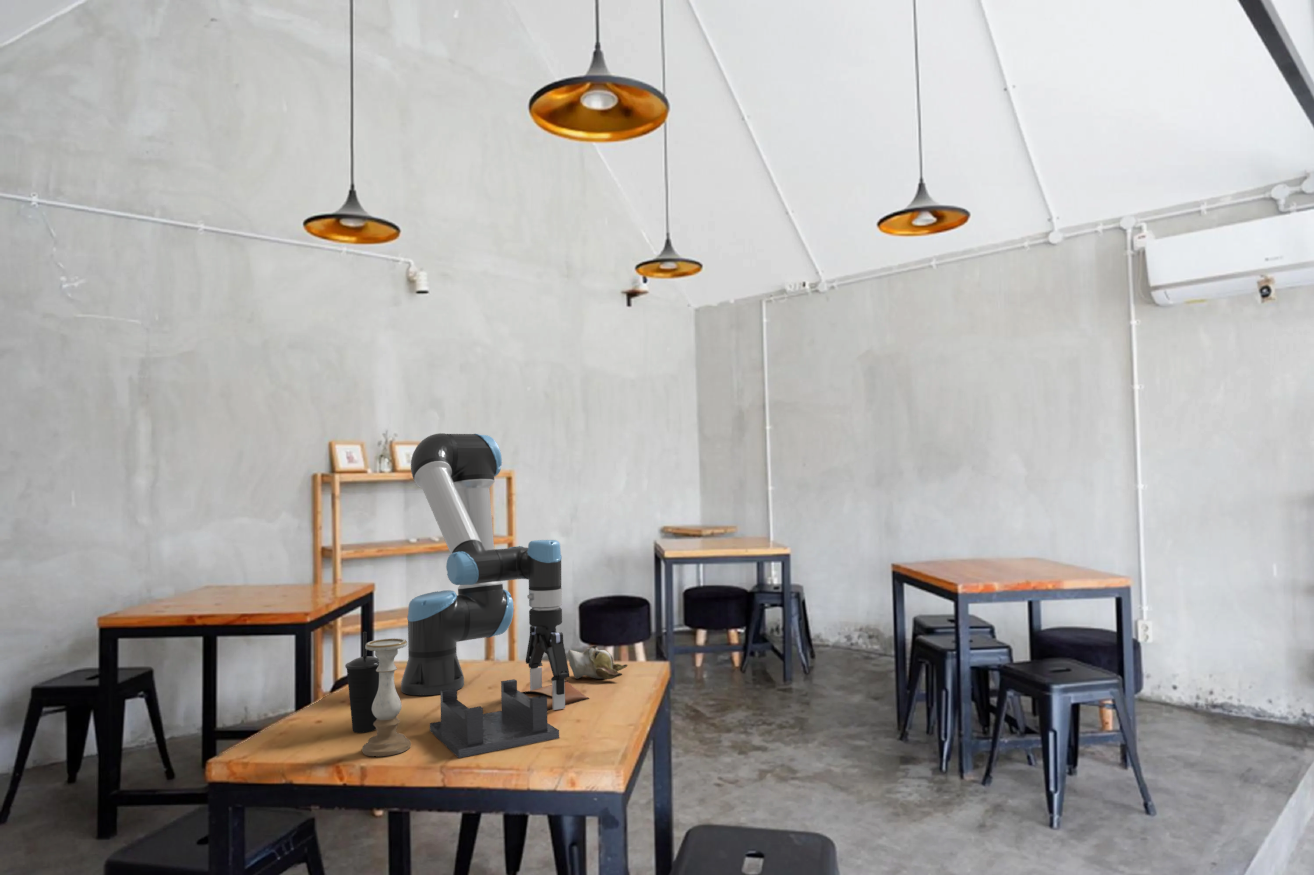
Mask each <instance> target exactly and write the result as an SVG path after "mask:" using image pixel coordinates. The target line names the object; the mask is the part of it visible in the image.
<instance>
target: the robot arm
mask: <svg viewBox="0 0 1314 875" xmlns="http://www.w3.org/2000/svg"><path fill="white" fill-rule="evenodd" d="M411 455H412V456H411V460H410V473H411V476H412V479H413V481H414V483H415V485H416V486H417V488H420V489H422V492H423V494H424V496H425V499H426V501H427V503H428V505H429V507H430V509H431V511H432V514H433V517H434V519H435V521H436V522H437V525H438V528H439V531H440V532H441V535H442V537H443V539H444V541H445V543H446V546H447V548H448V550H449V553H450V555H448V557H447V559H446V560H447V561H446V566H445V568H446V573H447V574H446V575H447V576H446V577H447V578H448V580H449V582H451V584H453V585H455V586H458V587H457V593H456V591H454V590H450V589H448V590H440V591H438V590H437V591H431V592H427V593H424V594H420V595H418V596H416V597H414V598H412V599H411V600H410V601H409V604H408V610H407V611H408V612H407V617H406V618H407V636H408V637H407V640H408V641H407V648H408V649H407V650H408V651H407V652H408V656H407V657H408V659H407V662H406V665H405V668H404V672H403V676H402V678H401V682H400V692H402V693H403V694H405V695H410V696H434V695H441V690H448V689H454V688H455V689H457V691H458V690H460V689H462V688H463V687H464V686H465V676H464V672H463V669H462V667H461V664H460V661H459V658H458V654H457V643H458V642H465V641H471V640H477V639H478V640H479V639H483V638H484V639H485V638H492V637H495V636H500V635H502V634H504V633H506V632H507V631H508V629H509V627H510V625H511V624H512V621H513V617H514V606H515V605H514V600H513V597H512V595H511V593H510V592H509V591H508V590H507V589H505V588H504V583H503V581H513V580H514V581H515V580H528V594H527V599H528V600H529V601H528V602H529V603H528V606H529V607H530V609H529V611H528V615H529V616H528V622H529V623H528V624H529V625H530V626H529V636H528V637H529V638H528V644H527V650H526V656H525V664H527V665H528V668H529V691H531V690H535V689H538V688H542V687H543V669H542V667H543V663H542V659H543V657H544V654H546V655H547V656H546V657H547V658H548V659H547V660H548V663H549V666H550V669H551V672H552V675H553V676H552V677H551V678H550V681H551V685H552V706H553V709H552V710H553V711H555V710H561V709H566V705H565V679H567V678H570V671H569V666H568V665H569V663H568V660H567V655H566V649H565V644H564V633H563V632H557V626H560V625H562V623H563V608H561V606H562V605H563V588H562V557H563V556H562V554H561V553H562V552H561V543H560V541H559V540H556V539H538V540H537V539H536V540H531V541H529V542H528V545H527V547H526V546H525V547H524V546H523V545H521V546H520V545H519V546H511V547H508V548H495V545H494V544H495V543H494V530H493V518H492V516H493V515H492V504H491V491H490V488H491V487H492V486H493V484H494V483H495V477H497V476H498V475H499V474H500V472H501V468H502V463H503V462H502V460H503V459H502V452H501V450H500V447H499V444H498V443H497V442H496V440H495V439H494V438H493V437H492V436H491V435H487V434H479V433H441V432H440V433H434V434H430V435H429V436H427V437H425V438H424V439H423V440H422V441H420V442H419V443H418V444H417V446H416V447H415V449H414V451H413V453H412V454H411Z"/></svg>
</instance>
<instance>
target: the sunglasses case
mask: <svg viewBox="0 0 1314 875" xmlns="http://www.w3.org/2000/svg"><path fill="white" fill-rule="evenodd" d="M520 692H521V693H523V694H525V695H527V696H528V697H530V698H532V697H538V696H546V697H547V712H549V711H552V710H553V706H552V684H549V685H546V686H542V688H538V689H535V690H531V691H530V690H526V691H520ZM589 699H590V697H587V696H586V695H584V694H583V693H582V692H581V691H579V689H577V688H576V687H574V686H573V685H572V684H571V683H569V680H565V706H569V705H572V704H574V703H579V702H583V701H587V700H589Z"/></svg>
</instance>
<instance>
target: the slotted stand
mask: <svg viewBox="0 0 1314 875" xmlns="http://www.w3.org/2000/svg"><path fill="white" fill-rule="evenodd" d="M500 688H501V689H500V692H501V693H500V694H501V696H500V699H501V702H500V703H501V705H500V706H501V710H498V711H492V712H486V713H484V707H482V706H481V705H479V706H474V707H468V706H466V705H465V704H463V703H462V702H461V701H460V700H458V690H457V689H455V688H454V689H448V690H441V694H440V721H436V722H431V723H429V732H431V734H432V735H434V736H435V737H436V738H437V739H438V740H439V741H440V742H441V743H442V744H443V745H444V746H445V747H446V748H447V749H448V750H449V751H451V752H452V753H453V755H455V756H456V757H457V758H458V759H462V758H467V757H471V756H476V755H481V754H486V753H491V752H496V751H497V752H498V751H501V750H505V749H512V748H516V747H521V746H526V745H530V744H536V743H540V742H541V743H542V742H547V741H552V740H555V739H560V730H559V729H557V728H556V727H555V726H553V725H551V724H550V723H548V711H547V697H546V696H538V697H532V698H530V697H528V696H527V695H525V694H523V693H521V692H522V691H520V690H518V680H517V679H515V678H513V679H507V680H502V681H500Z"/></svg>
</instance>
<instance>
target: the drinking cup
mask: <svg viewBox="0 0 1314 875" xmlns="http://www.w3.org/2000/svg"><path fill="white" fill-rule="evenodd" d="M367 634H368V633H367V631H363V632H362V649H363V650H362V655H363V656H359V657H356V658H354V659H352V660H351V661H348V662H347V663H345V665H344V666H345V667H344V668H345V669H346V674H347V684H348V695H349V697H348V698H349V705H350V706H349V707H350V715H351V727H352V728H351V729H352V732H353V733H357V734H363V733H370V732H373V731H377V729H376V727H375V726H374V722H375V721H376V719H377V718H376V717H375V716H374V715H373V713H372V704H373V701H374V699H375V697H376V694H377V691H378V687H379V672H376V669H377V667H378V666H379V660H378V658H377V657H376V656H368V654H367V652H368V650H367V649H366V648H365V646H366V644H367V643H368V642H367V638H368V637H367Z"/></svg>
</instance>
